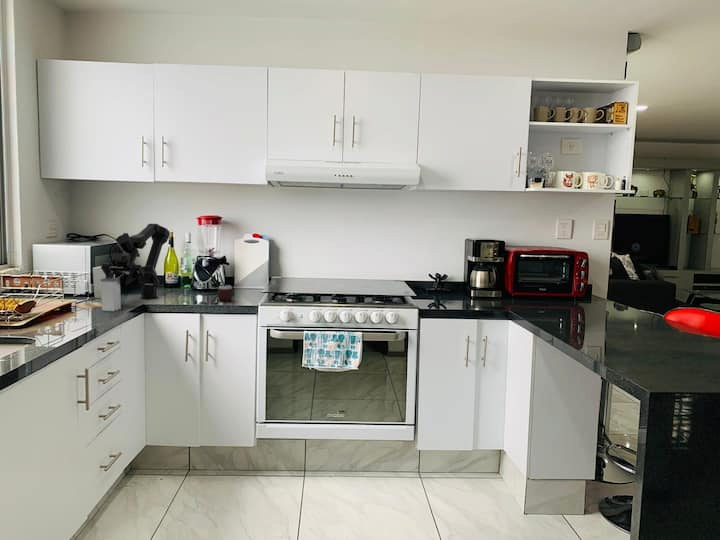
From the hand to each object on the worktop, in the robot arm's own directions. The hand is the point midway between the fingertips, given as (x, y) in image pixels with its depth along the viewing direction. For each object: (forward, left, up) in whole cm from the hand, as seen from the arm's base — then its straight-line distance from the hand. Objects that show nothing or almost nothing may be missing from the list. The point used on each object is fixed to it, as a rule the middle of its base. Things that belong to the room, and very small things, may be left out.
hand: (115, 284), depth 244 cm
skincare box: (-11, -32, -11) cm, 36 cm away
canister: (+4, +2, -11) cm, 12 cm away
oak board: (+5, -14, -11) cm, 19 cm away
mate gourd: (-44, +20, -11) cm, 50 cm away
